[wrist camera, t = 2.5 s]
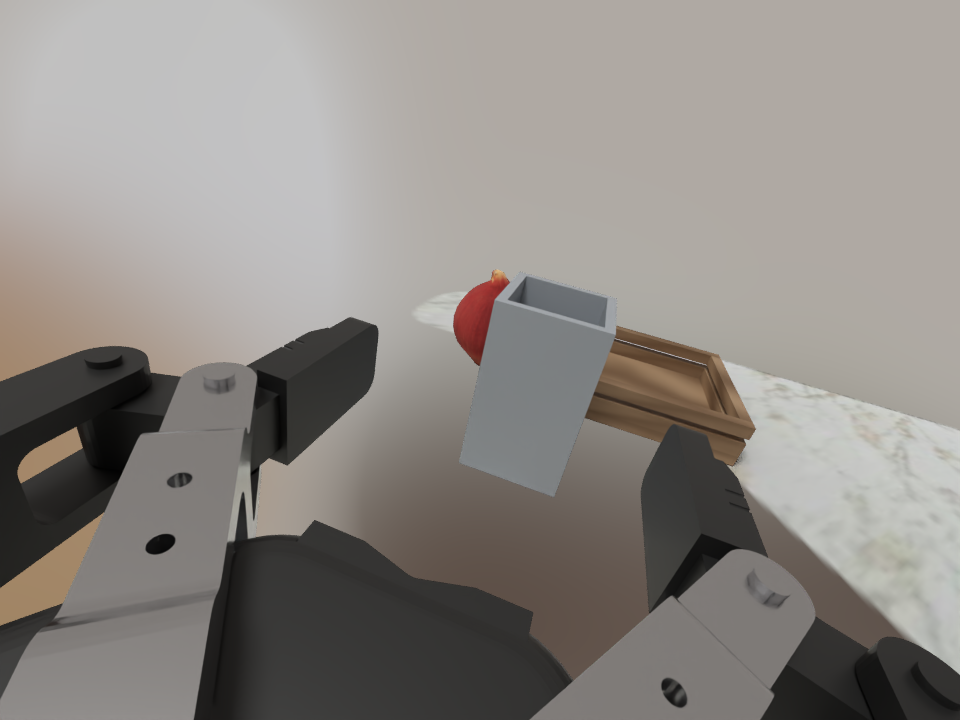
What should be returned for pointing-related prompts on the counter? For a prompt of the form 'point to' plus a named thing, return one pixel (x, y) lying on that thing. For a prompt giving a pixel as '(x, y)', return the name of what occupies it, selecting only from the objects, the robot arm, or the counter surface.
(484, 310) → the onion
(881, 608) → the counter surface
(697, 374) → the tray
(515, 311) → the gray square holder
